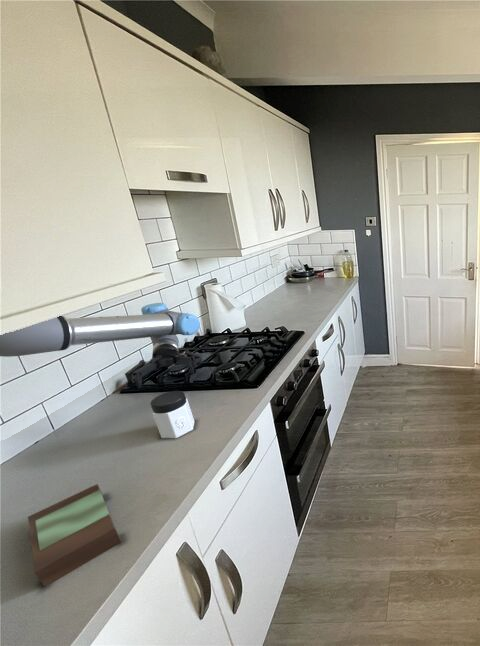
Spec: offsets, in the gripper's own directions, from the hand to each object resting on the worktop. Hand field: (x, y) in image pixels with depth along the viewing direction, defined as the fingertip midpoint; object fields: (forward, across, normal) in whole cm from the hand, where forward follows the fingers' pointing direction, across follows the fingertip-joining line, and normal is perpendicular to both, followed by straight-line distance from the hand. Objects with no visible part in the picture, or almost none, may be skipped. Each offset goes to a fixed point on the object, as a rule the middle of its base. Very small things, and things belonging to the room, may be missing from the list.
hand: (165, 377), depth 107 cm
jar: (+10, 0, -15) cm, 18 cm away
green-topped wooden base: (+40, +18, -14) cm, 46 cm away
